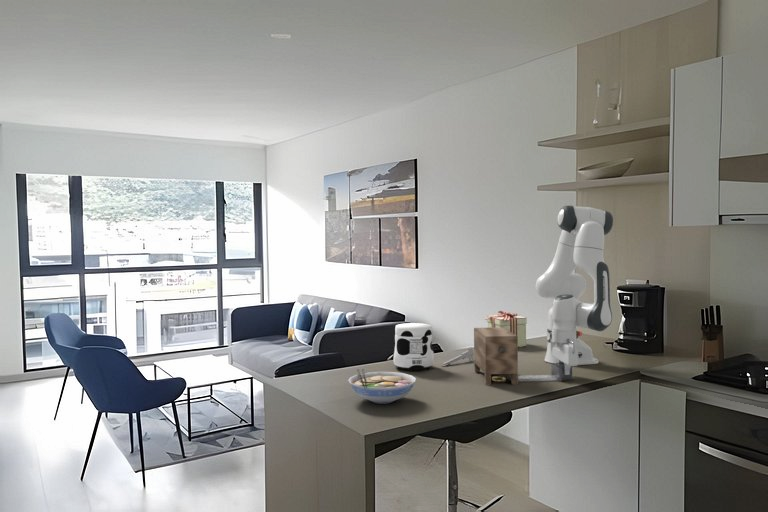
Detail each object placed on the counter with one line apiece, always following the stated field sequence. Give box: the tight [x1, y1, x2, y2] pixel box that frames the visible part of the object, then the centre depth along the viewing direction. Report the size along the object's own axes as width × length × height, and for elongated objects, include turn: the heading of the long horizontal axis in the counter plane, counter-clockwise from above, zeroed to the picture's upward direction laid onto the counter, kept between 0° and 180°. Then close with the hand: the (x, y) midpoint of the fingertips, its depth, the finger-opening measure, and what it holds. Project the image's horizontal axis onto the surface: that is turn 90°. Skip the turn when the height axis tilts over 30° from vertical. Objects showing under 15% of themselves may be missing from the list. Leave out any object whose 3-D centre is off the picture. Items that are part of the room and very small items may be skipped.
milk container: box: [392, 322, 435, 371], centre depth 245 cm, size 17×17×18 cm
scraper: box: [518, 362, 573, 383], centre depth 223 cm, size 22×9×6 cm, turn 92°
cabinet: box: [473, 327, 519, 386], centre depth 226 cm, size 12×23×18 cm, turn 2°
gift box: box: [484, 310, 527, 347], centre depth 295 cm, size 17×18×17 cm
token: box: [491, 375, 506, 383], centre depth 223 cm, size 5×5×1 cm
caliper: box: [441, 347, 474, 365], centre depth 254 cm, size 20×1×6 cm, turn 131°
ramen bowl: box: [347, 368, 417, 405], centre depth 195 cm, size 25×23×8 cm
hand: (564, 372), depth 224 cm, fingers closed on scraper, 3 cm apart
